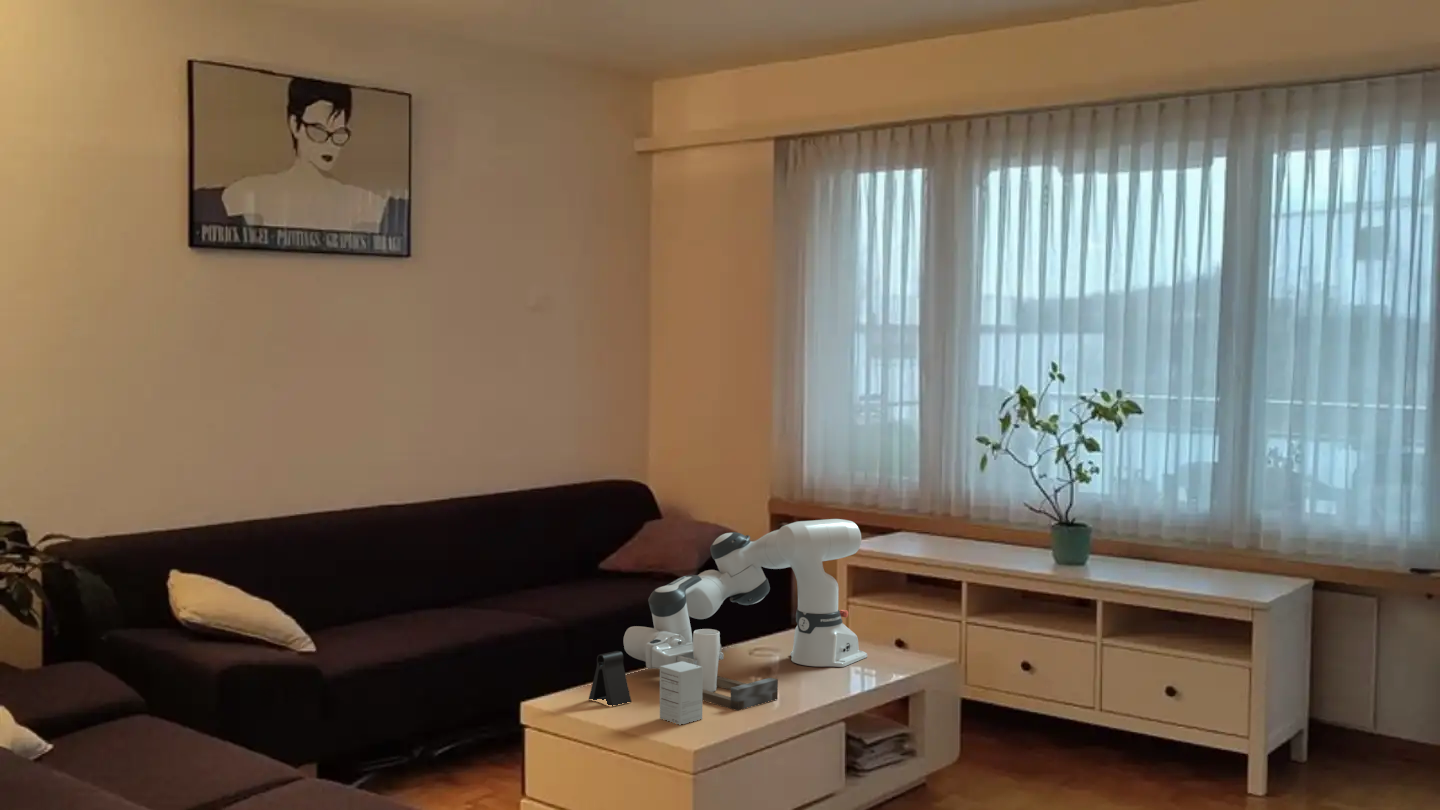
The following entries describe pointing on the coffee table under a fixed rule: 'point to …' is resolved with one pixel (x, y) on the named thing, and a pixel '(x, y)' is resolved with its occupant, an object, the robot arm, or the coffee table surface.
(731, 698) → the guide track
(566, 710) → the coffee table surface
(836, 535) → the robot arm
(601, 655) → the phone stand
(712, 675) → the drinking glass
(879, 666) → the coffee table surface
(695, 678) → the supplement box
